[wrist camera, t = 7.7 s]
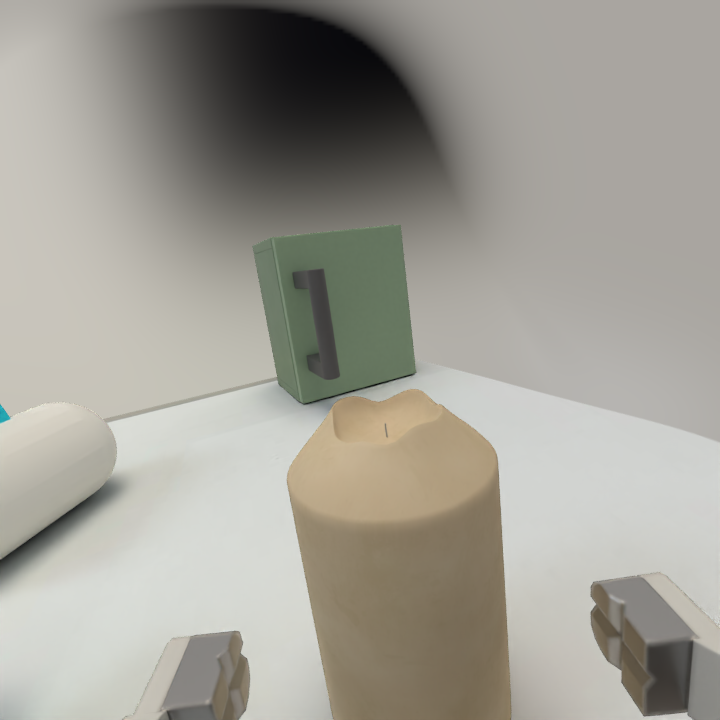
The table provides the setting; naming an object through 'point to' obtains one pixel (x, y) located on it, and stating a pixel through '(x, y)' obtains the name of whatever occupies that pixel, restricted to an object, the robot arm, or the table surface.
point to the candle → (404, 561)
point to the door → (345, 309)
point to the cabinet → (276, 314)
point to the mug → (49, 466)
